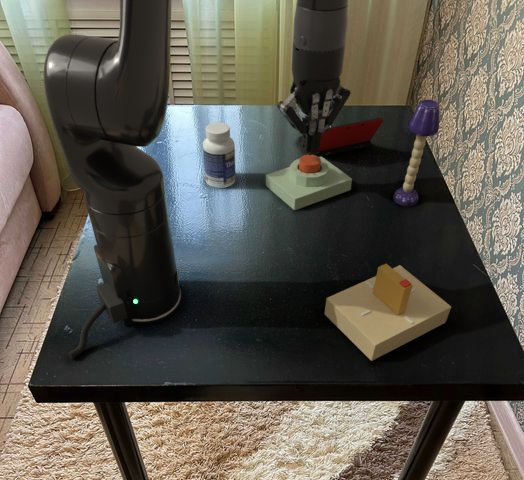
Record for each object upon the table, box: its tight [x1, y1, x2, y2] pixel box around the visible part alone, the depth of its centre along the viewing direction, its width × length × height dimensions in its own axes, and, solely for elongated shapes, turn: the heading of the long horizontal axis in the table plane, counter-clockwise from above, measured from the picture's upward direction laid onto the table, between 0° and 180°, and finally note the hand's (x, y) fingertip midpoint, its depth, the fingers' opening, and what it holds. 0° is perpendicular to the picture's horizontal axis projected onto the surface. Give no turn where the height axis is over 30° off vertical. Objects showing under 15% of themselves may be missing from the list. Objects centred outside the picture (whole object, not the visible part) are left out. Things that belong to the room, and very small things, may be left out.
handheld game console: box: [297, 117, 384, 158], centre depth 101 cm, size 12×11×7 cm
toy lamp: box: [392, 99, 440, 207], centre depth 86 cm, size 5×5×17 cm
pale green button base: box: [265, 156, 353, 211], centre depth 93 cm, size 12×9×4 cm
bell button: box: [299, 154, 321, 174], centre depth 91 cm, size 4×4×2 cm
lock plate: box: [324, 265, 452, 362], centre depth 72 cm, size 13×10×3 cm
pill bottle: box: [202, 122, 236, 189], centre depth 92 cm, size 5×5×10 cm
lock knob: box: [373, 263, 413, 315], centre depth 69 cm, size 5×1×5 cm, turn 32°
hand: (310, 152), depth 90 cm, fingers closed
